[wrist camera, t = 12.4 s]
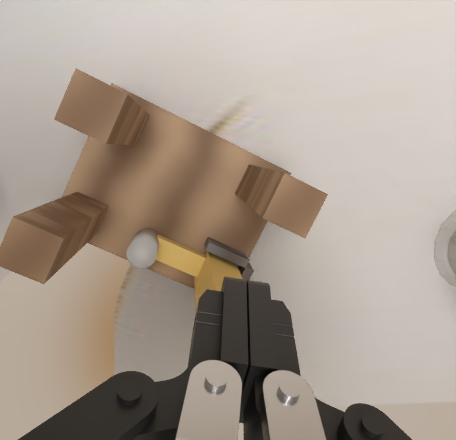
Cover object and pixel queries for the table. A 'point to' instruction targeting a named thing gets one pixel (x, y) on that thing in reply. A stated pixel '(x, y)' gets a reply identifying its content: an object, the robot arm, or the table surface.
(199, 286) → the hinged leg
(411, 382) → the table surface
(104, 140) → the wooden pillar stand
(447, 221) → the french press
